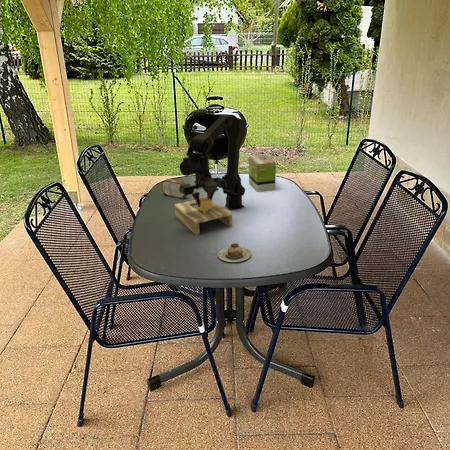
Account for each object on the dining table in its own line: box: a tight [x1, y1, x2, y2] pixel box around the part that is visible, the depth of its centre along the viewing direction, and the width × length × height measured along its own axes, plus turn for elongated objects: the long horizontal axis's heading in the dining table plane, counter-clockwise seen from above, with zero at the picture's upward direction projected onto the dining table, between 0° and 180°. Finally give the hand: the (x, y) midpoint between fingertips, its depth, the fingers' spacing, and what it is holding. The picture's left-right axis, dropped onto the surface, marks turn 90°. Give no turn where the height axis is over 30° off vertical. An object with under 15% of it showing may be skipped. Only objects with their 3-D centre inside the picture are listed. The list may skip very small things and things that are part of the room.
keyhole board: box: [174, 199, 233, 236], centre depth 182 cm, size 16×22×6 cm
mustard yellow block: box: [196, 196, 211, 213], centre depth 179 cm, size 4×4×8 cm
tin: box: [161, 178, 188, 199], centre depth 212 cm, size 15×3×8 cm, turn 58°
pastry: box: [217, 243, 252, 264], centre depth 154 cm, size 12×12×5 cm
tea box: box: [248, 154, 277, 193], centre depth 221 cm, size 15×10×15 cm
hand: (204, 205), depth 179 cm, fingers closed on mustard yellow block, 4 cm apart
